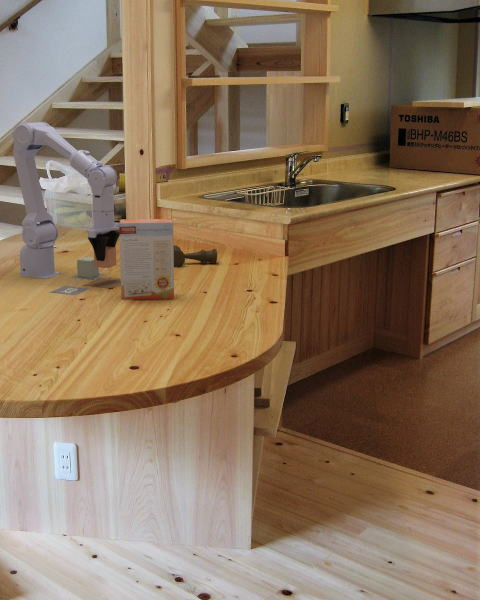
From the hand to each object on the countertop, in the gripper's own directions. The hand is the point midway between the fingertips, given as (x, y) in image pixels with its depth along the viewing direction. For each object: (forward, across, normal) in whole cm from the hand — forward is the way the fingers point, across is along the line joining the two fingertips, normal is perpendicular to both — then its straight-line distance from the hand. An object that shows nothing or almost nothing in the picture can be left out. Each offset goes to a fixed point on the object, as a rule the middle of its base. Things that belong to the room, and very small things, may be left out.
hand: (104, 258), depth 222 cm
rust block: (+2, 0, 0) cm, 2 cm away
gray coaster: (+7, +6, +9) cm, 13 cm away
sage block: (+7, +6, +9) cm, 13 cm away
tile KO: (+7, -11, +5) cm, 14 cm away
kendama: (+8, +33, -10) cm, 36 cm away
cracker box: (+8, -8, -17) cm, 20 cm away
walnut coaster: (+7, 0, 0) cm, 7 cm away
